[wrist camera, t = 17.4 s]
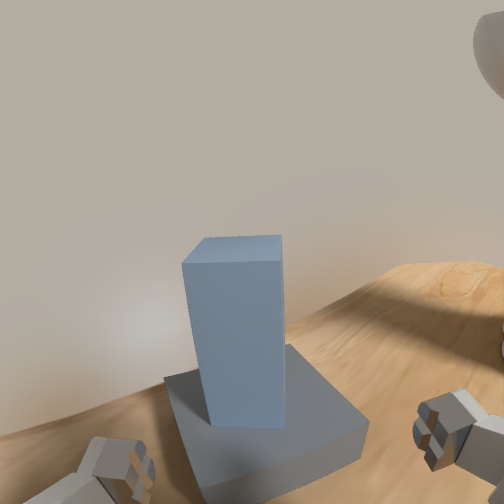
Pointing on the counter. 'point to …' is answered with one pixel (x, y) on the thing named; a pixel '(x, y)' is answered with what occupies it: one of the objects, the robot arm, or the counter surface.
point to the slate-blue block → (239, 328)
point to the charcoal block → (268, 438)
